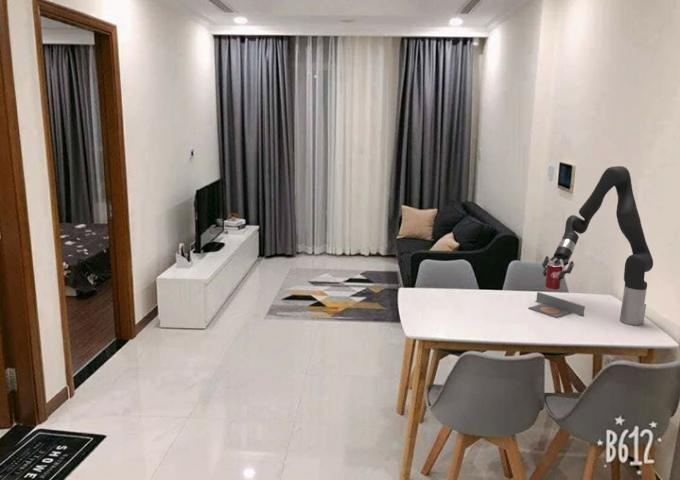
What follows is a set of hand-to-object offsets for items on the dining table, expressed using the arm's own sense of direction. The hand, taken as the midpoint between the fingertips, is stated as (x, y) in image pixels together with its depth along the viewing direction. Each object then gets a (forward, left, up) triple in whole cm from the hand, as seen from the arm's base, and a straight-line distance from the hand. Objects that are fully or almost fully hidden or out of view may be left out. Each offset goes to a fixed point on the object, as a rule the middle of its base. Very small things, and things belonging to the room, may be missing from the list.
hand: (552, 276), depth 270 cm
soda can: (0, -1, -6) cm, 6 cm away
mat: (0, -1, -18) cm, 18 cm away
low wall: (0, -9, -18) cm, 20 cm away
